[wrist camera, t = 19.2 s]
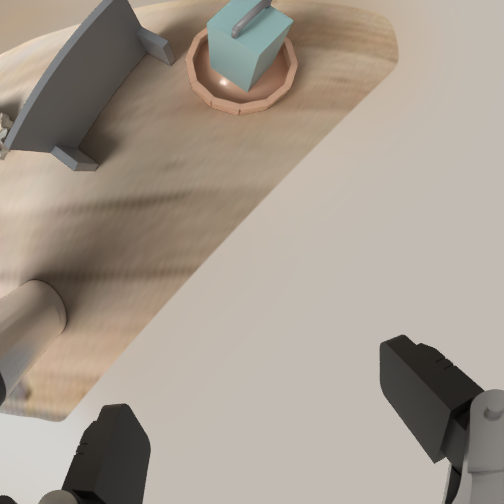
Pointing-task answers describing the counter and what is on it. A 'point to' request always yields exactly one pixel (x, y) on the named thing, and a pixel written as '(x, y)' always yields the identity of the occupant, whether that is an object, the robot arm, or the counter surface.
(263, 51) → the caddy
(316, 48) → the counter surface
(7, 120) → the miniature stone ruin
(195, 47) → the dish
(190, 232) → the counter surface
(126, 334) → the counter surface
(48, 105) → the screen
